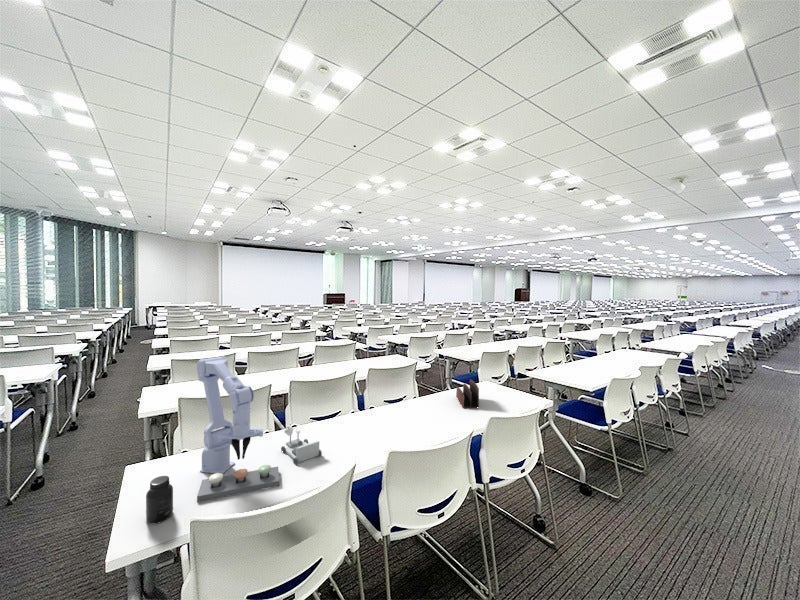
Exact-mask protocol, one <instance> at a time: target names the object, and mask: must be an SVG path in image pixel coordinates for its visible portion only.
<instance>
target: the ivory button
mask: <svg viewBox="0 0 800 600" xmlns="http://www.w3.org/2000/svg"><path fill="white" fill-rule="evenodd" d="M223 476H224V473H223V474H222V473H212V474H211V475H210V476H209V477H208V479H209V483H212V484H213V487H217V486H219V482H220V481H222V480H223Z"/></svg>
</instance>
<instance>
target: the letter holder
mask: <svg viewBox="0 0 800 600" xmlns="http://www.w3.org/2000/svg"><path fill="white" fill-rule="evenodd" d="M479 390H480V388H479V386H478V384H477V383H476V381H474V380H473V379H472V378H471V379H470V378H469V386H468V385H467V384H466V383H463V386H462V389H461V388H460V387H459V386H457V387H456V397H457V398H458V400H459V401H458V400H457V401H458V402H460V403H459V404H460V406H461V405H462V406H461V407H462V408H463V409H467V408H477V407H480V404H479V403H480V401H479V400H480V393H479V392H480V391H479ZM457 398H456V399H457Z"/></svg>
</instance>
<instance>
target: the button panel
mask: <svg viewBox="0 0 800 600" xmlns="http://www.w3.org/2000/svg"><path fill="white" fill-rule="evenodd" d="M279 486H280V471H279V466H274V467H272V466H271V471H270V472H269V473H268V474H267V477H266V478H262V475H261V474H259V473H258V469H254V470H250V471H248V475H247V476H246V477H244V481H243V482H238V479H236V478H234V473H233V474H227V475H223V480H222V481H220V482H219V486H217V487H213V484H212V483H209V478H204V479H202V480H201V483H200V486H199V489H198V493H197V496H196V502H197V501H200V502H205V501H209V500H214V499H220V498H225V497H230V496H235V495H241V494H244V493H245V494H246V493H250V492H251V493H252V492H255V491H260V490H261V491H262V490H266V489H271V488H275V487H276V488H277V487H279Z"/></svg>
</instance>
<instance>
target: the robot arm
mask: <svg viewBox="0 0 800 600" xmlns="http://www.w3.org/2000/svg"><path fill="white" fill-rule="evenodd" d="M196 372H197V378H198V381H199V382H202V383H203V386H204V392H205V398H206V404H207V409H208V415H209V420H210V421H209V422H210V423H209V424H208V425H207V426H206V427H205V428H204V430H203V443H204V444H203V445H204V446H205V447H204V448H203V450H202V453H201V469H200V472H201V473H207V474H208V473H209V474H216V473H222V474H223V475H224V473H225V472H226V471H227V470H229V469H230V468H231V467H233V466H234V465H235V461H231V458H230V457H231V446H232V448H233V449H234V451H235V454H236V456H237V457H236V459H237V460H240V459H243V460H244V459H245V455H246V452H247V449H248V446H249V444H251V443H250V442H251V438H256V437H264V429H262V428H261V429H259V428H258V429H251V403H252V402H253V400H254V397H255V396H254V390H253V389H252V387H251V386H250V385H249V386H248V385H245V384H243V382H242V381H241V380H240V379H239V377H238V376H236V375H233V374H232V372H231V371H230V369H229V361H228V359H227V357H226V356H225V355H221V356H218V357H209V358H201V359H199V360H198V362H197V363H196ZM219 380H220V381H222V387H223V389H224V390H225V392H226V393H227V394H228V395H229V402H230V409H231V411H232V422H231V421H229V420H227V419H225V415H224V409H223V405H222V399H221V393H220V388H219ZM241 440H242V457H241V443H240V442H241Z"/></svg>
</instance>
